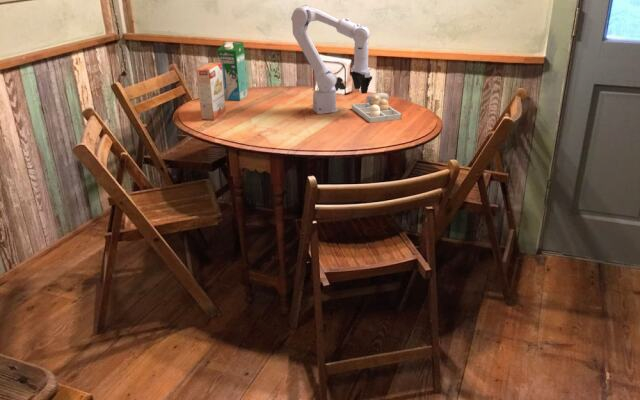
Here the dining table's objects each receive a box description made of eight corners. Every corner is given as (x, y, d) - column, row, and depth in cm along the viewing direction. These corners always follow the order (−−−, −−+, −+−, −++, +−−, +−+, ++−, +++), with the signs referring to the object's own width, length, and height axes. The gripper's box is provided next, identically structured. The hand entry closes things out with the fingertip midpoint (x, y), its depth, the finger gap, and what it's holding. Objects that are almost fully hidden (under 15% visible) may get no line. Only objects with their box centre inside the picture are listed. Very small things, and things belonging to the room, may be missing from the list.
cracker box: (214, 120, 225) (209, 69, 215) (201, 119, 226) (195, 69, 217) (226, 110, 237) (222, 62, 228) (213, 110, 238) (208, 61, 229)
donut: (392, 92, 240) (381, 91, 232) (393, 100, 240) (382, 99, 232) (372, 97, 246) (361, 96, 238) (373, 104, 246) (362, 104, 238)
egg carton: (369, 123, 217) (370, 117, 216) (351, 110, 235) (351, 104, 234) (401, 120, 221) (401, 114, 220) (381, 106, 238) (381, 101, 237)
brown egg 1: (374, 110, 232) (374, 97, 229) (369, 107, 235) (369, 94, 232) (382, 108, 233) (382, 95, 230) (377, 105, 236) (377, 92, 233)
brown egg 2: (380, 114, 226) (381, 100, 224) (376, 112, 230) (377, 98, 227) (389, 113, 227) (390, 99, 225) (385, 111, 231) (386, 97, 228)
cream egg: (372, 121, 219) (372, 106, 216) (368, 118, 222) (368, 103, 220) (381, 120, 220) (381, 105, 217) (377, 117, 223) (377, 102, 221)
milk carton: (221, 99, 253) (216, 44, 242) (230, 94, 260) (225, 41, 249) (239, 101, 250) (235, 45, 239) (247, 95, 258) (243, 41, 247)
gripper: (377, 60, 216) (376, 94, 222) (363, 53, 228) (363, 86, 234) (360, 62, 214) (360, 96, 220) (347, 55, 226) (347, 87, 232)
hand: (360, 91), depth 227 cm, fingers open, 7 cm apart
